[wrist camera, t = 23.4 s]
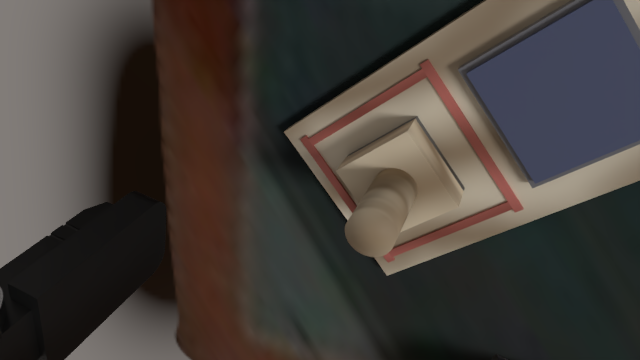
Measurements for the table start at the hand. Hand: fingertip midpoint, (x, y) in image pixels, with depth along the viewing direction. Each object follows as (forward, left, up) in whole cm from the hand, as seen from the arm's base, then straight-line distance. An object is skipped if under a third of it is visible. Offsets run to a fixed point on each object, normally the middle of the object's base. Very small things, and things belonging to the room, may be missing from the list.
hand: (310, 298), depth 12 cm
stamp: (+6, -8, -25) cm, 26 cm away
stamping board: (+6, -3, -26) cm, 26 cm away
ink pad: (+6, +3, -24) cm, 25 cm away
